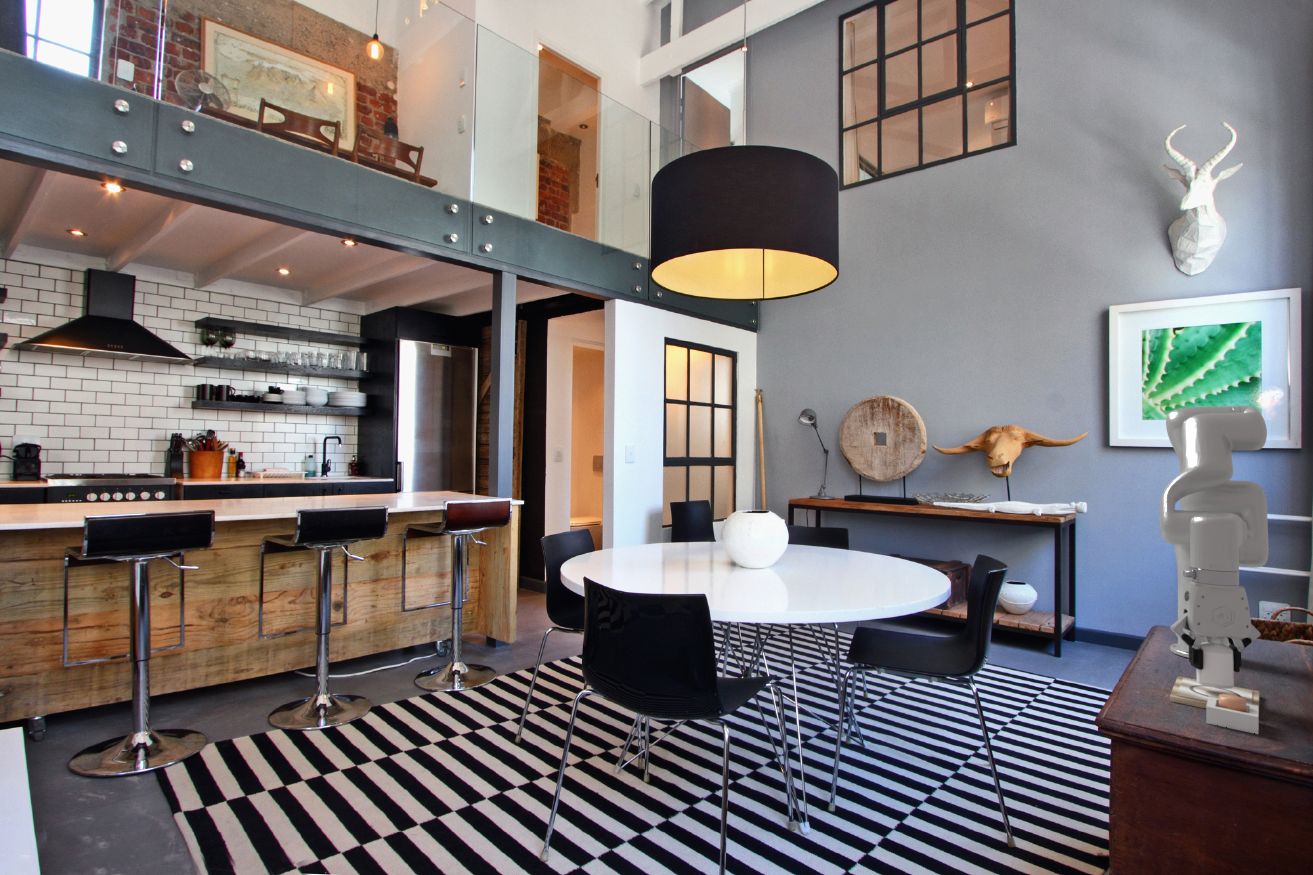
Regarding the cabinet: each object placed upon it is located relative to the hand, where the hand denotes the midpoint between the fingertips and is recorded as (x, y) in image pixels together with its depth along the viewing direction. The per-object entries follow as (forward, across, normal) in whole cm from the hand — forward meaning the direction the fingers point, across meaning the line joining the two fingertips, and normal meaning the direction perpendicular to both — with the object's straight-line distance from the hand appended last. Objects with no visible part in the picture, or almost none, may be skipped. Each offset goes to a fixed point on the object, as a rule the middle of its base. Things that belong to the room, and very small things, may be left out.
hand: (1214, 667), depth 134 cm
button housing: (+6, -4, -13) cm, 15 cm away
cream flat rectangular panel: (+6, 0, 0) cm, 6 cm away
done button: (+4, -4, -13) cm, 15 cm away
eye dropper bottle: (+4, 0, 0) cm, 4 cm away
